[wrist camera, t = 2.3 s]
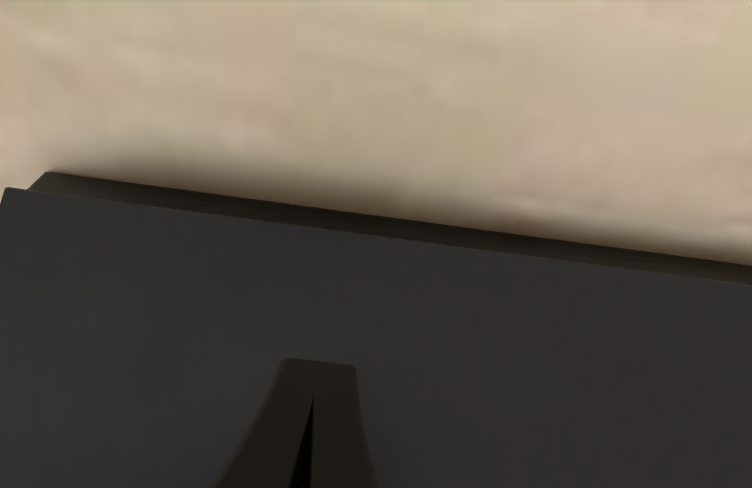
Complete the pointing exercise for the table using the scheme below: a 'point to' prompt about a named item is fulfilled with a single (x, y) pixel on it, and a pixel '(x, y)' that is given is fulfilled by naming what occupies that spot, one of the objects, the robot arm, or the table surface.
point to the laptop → (390, 227)
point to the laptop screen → (355, 354)
